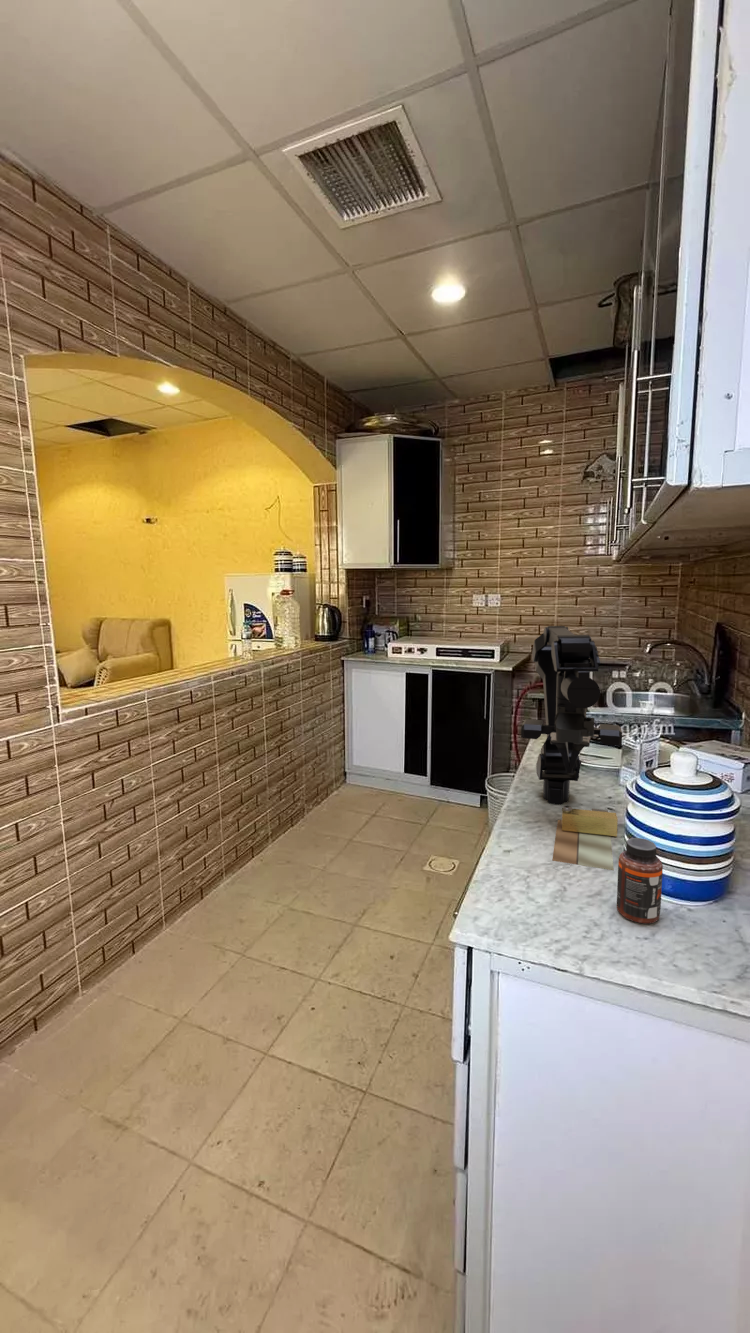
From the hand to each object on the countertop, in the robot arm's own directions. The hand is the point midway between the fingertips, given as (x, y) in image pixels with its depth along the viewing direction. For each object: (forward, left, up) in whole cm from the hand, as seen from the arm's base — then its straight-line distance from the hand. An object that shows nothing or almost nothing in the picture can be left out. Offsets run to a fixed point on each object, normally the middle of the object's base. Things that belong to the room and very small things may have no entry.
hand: (569, 772), depth 107 cm
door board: (+8, +3, -12) cm, 15 cm away
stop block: (0, +6, -11) cm, 12 cm away
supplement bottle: (+27, +11, -12) cm, 32 cm away
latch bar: (+3, +4, -10) cm, 12 cm away
